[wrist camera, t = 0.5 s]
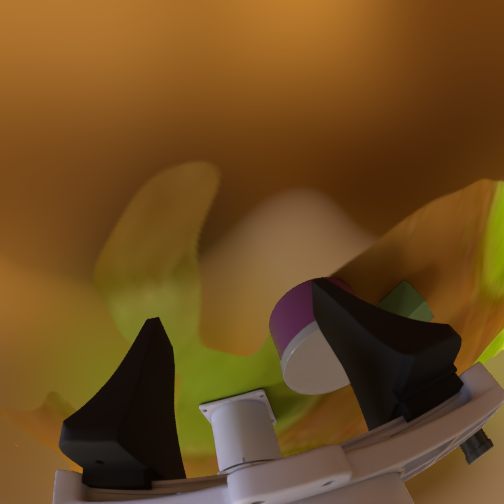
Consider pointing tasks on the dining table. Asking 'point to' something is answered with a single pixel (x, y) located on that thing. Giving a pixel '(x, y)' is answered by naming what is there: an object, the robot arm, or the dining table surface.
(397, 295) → the block
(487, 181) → the dining table surface
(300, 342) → the jar
